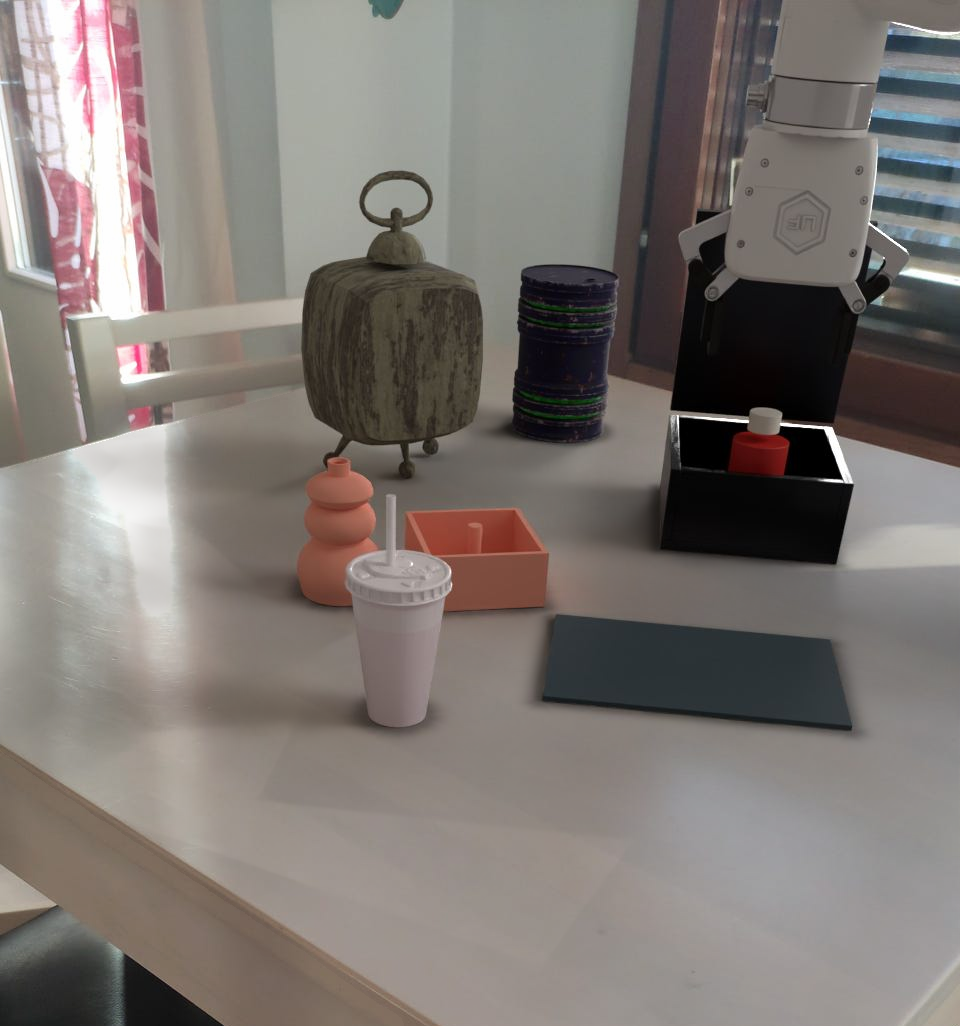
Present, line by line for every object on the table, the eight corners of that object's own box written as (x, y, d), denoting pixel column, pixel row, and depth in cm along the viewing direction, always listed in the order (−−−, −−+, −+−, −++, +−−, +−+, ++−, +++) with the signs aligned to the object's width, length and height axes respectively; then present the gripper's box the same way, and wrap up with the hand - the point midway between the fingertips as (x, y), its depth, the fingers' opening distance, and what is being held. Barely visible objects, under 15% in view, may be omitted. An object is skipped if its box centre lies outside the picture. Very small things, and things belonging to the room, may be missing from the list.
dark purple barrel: (490, 424, 132) (498, 269, 123) (556, 409, 138) (568, 260, 129) (558, 448, 126) (572, 288, 118) (624, 432, 132) (641, 278, 123)
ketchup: (771, 520, 110) (792, 406, 104) (775, 539, 106) (797, 422, 100) (718, 515, 110) (736, 401, 105) (720, 534, 106) (739, 417, 101)
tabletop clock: (437, 448, 124) (445, 162, 110) (487, 475, 118) (502, 176, 104) (305, 467, 118) (295, 165, 103) (350, 498, 112) (346, 182, 97)
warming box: (836, 564, 104) (854, 484, 100) (659, 549, 105) (670, 468, 101) (817, 501, 117) (832, 427, 113) (659, 487, 118) (669, 414, 114)
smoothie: (378, 680, 84) (379, 471, 75) (464, 704, 81) (474, 492, 73) (327, 721, 79) (321, 502, 71) (417, 748, 77) (422, 525, 69)
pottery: (514, 558, 102) (522, 436, 96) (544, 606, 95) (555, 477, 89) (291, 567, 98) (286, 440, 93) (304, 618, 91) (299, 484, 85)
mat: (829, 644, 92) (830, 639, 91) (851, 731, 81) (852, 725, 81) (555, 618, 93) (555, 613, 93) (542, 701, 82) (542, 695, 82)
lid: (878, 223, 102) (876, 220, 102) (697, 210, 103) (697, 208, 103) (833, 423, 112) (833, 420, 113) (670, 410, 113) (670, 407, 114)
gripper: (698, 103, 88) (663, 359, 98) (950, 123, 87) (889, 379, 97) (696, 95, 94) (663, 336, 104) (931, 113, 93) (875, 355, 103)
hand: (772, 357), depth 100 cm, fingers open, 9 cm apart
